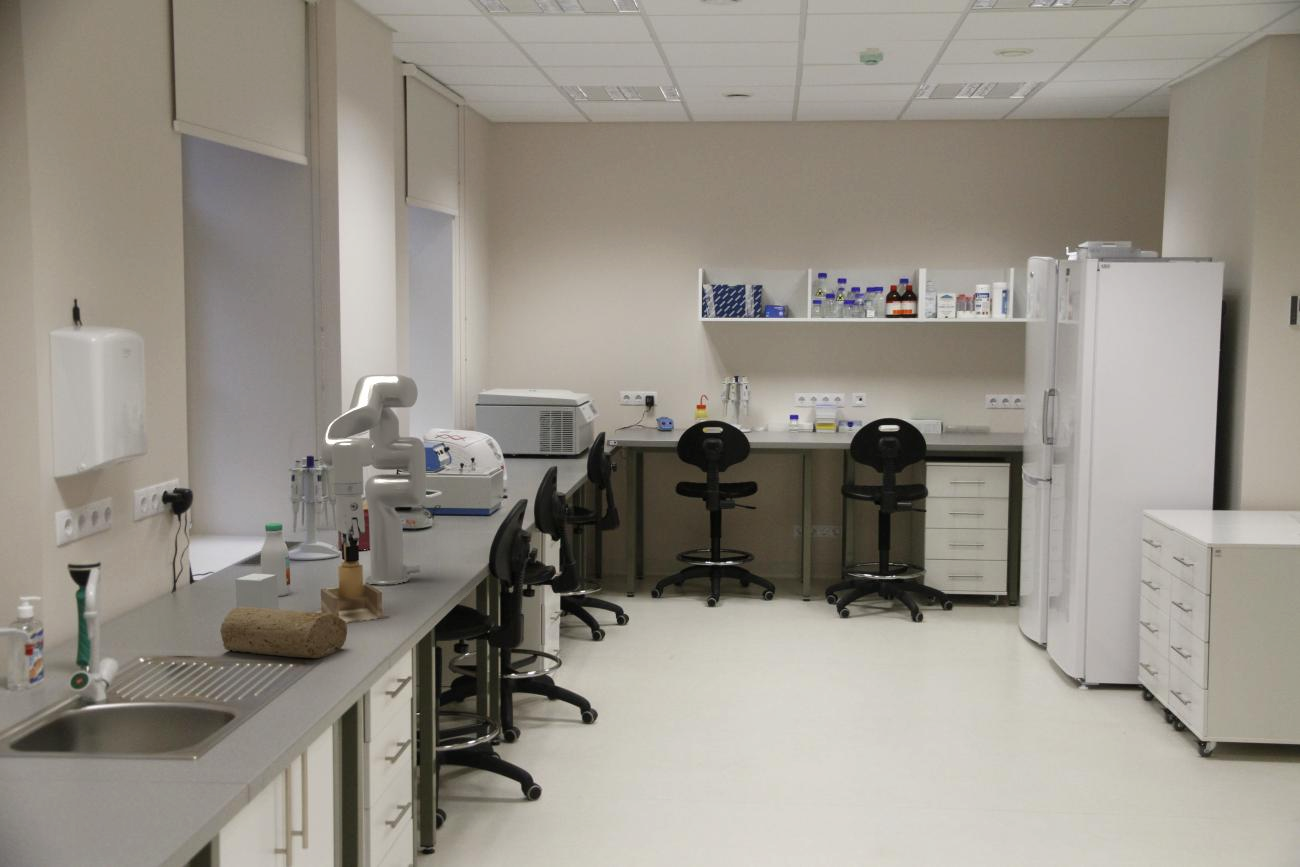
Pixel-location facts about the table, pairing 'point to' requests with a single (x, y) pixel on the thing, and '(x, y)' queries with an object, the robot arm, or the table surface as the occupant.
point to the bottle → (350, 577)
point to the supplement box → (257, 591)
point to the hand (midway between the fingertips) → (350, 559)
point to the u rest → (353, 604)
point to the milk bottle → (276, 557)
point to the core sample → (283, 632)
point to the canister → (363, 538)
